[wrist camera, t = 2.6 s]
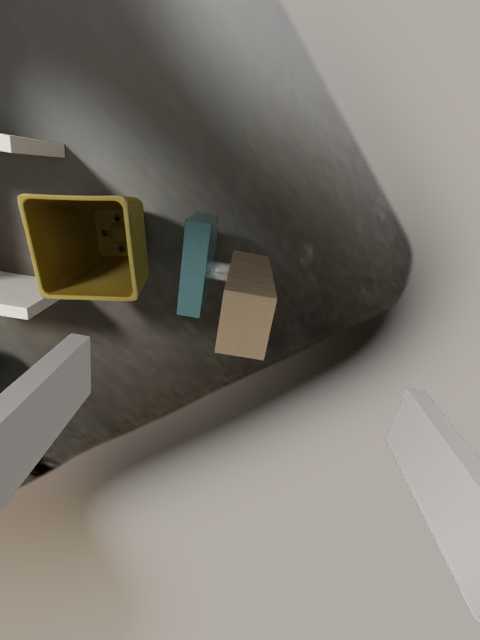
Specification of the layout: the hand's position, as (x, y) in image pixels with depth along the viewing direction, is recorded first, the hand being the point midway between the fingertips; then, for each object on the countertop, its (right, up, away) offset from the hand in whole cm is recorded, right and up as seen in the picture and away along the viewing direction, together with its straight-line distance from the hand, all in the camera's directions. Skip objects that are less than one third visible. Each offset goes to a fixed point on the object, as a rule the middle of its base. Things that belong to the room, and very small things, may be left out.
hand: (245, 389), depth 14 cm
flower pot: (-13, +12, +22) cm, 28 cm away
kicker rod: (-1, +10, +21) cm, 24 cm away
